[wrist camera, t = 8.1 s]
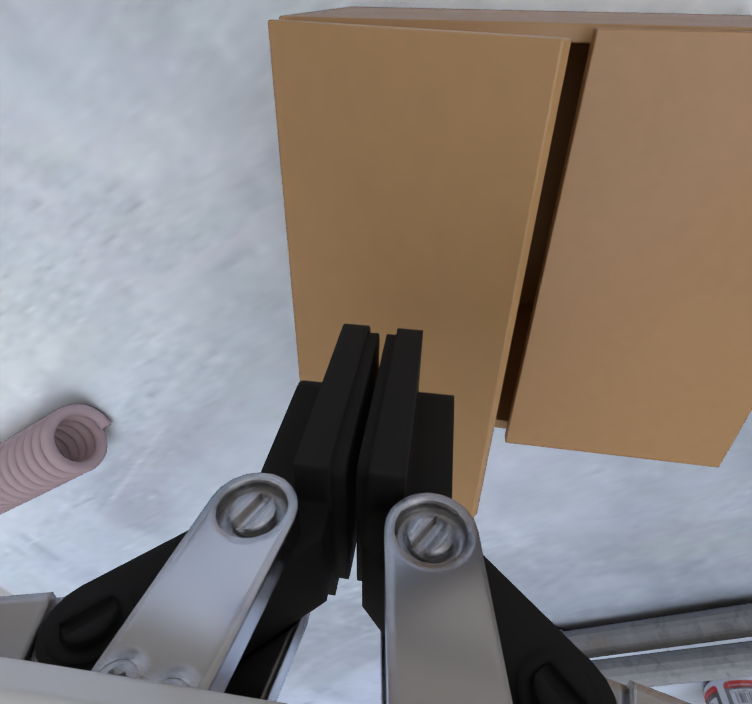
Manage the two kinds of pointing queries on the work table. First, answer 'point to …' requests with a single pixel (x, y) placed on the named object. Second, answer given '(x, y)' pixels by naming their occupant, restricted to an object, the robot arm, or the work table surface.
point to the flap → (415, 198)
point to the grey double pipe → (672, 633)
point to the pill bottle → (729, 691)
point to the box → (631, 234)
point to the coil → (51, 453)
